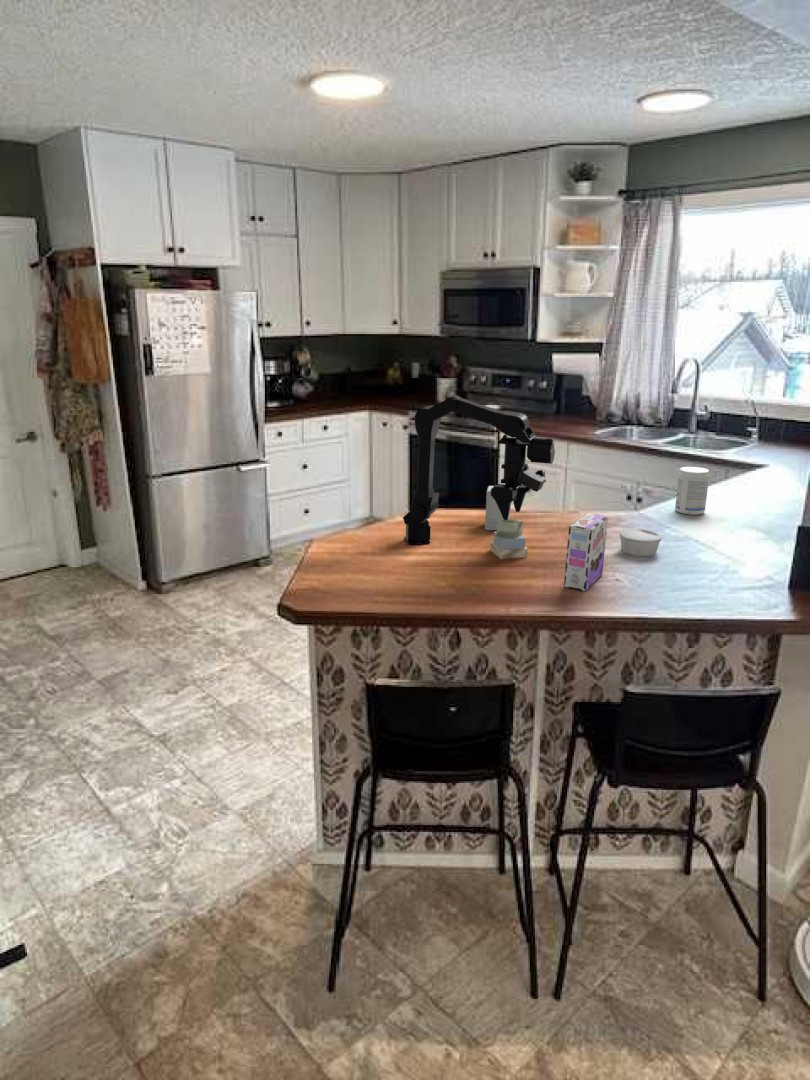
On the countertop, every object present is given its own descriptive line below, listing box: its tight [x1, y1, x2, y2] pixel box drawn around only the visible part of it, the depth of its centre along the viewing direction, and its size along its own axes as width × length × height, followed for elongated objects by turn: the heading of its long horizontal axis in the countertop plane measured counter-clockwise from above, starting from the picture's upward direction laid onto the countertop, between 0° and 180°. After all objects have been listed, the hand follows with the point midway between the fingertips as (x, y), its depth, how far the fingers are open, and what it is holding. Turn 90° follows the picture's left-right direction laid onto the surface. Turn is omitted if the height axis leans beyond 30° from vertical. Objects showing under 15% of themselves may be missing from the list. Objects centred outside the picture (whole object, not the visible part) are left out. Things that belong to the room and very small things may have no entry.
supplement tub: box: [674, 466, 710, 516], centre depth 248 cm, size 10×10×15 cm
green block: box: [496, 518, 524, 539], centre depth 207 cm, size 6×6×4 cm
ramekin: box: [619, 528, 662, 558], centre depth 211 cm, size 11×11×5 cm
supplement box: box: [484, 485, 511, 531], centre depth 230 cm, size 7×7×13 cm
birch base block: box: [489, 541, 529, 560], centre depth 209 cm, size 8×8×3 cm
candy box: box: [563, 512, 609, 592], centre depth 187 cm, size 14×6×16 cm, turn 148°
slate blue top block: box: [493, 531, 526, 550], centre depth 208 cm, size 7×7×3 cm
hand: (511, 515), depth 205 cm, fingers open, 9 cm apart
